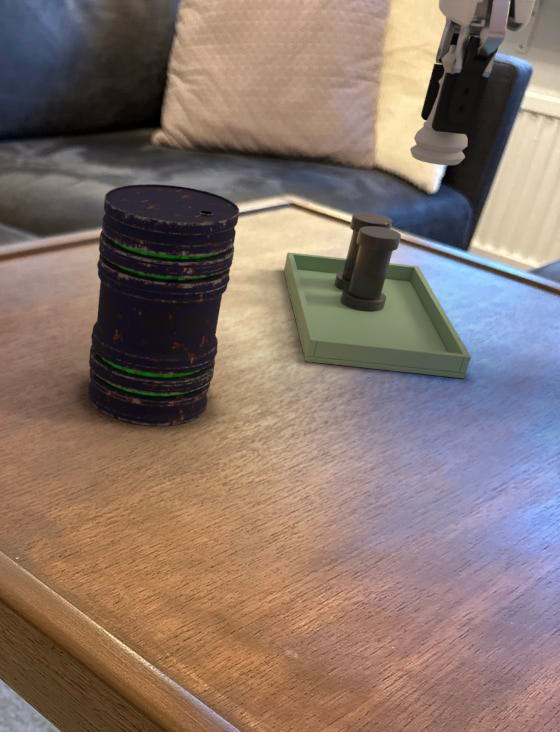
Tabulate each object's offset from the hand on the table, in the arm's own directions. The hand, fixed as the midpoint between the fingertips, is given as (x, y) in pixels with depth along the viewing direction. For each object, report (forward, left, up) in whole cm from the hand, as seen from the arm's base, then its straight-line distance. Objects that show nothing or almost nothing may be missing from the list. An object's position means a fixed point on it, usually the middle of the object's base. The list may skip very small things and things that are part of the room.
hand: (446, 123), depth 79 cm
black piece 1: (+1, -16, -19) cm, 24 cm away
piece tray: (+1, -8, -19) cm, 21 cm away
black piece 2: (+1, -11, -19) cm, 22 cm away
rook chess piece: (0, 0, -3) cm, 3 cm away
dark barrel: (+22, +16, -19) cm, 33 cm away
